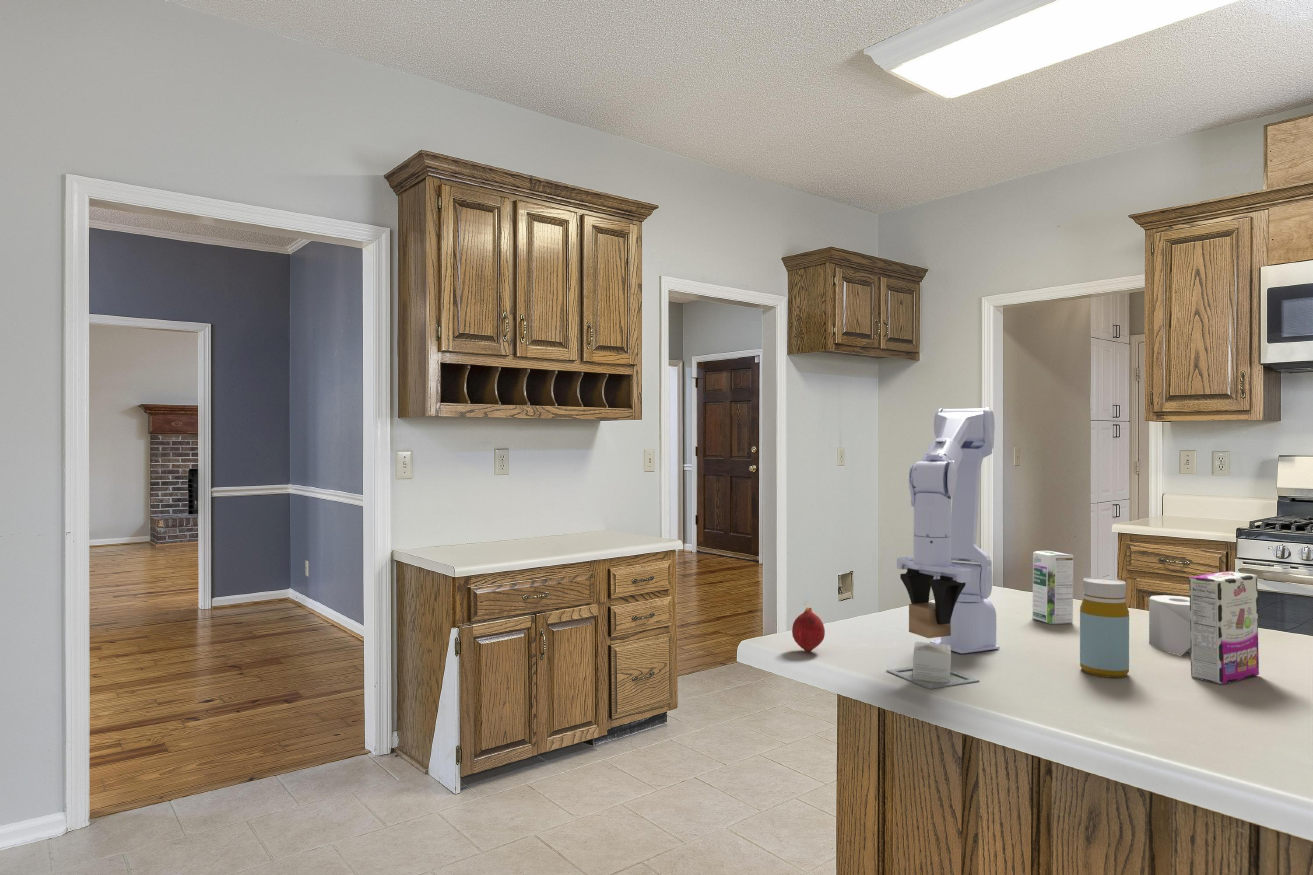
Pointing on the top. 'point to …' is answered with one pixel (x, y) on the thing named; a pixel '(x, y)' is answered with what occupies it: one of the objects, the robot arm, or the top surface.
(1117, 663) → the bottle
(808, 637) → the onion
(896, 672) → the gray square frame
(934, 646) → the small box
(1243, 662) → the candy bar box
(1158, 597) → the toilet tissue
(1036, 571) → the syrup box
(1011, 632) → the top surface
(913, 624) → the walnut cube
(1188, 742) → the top surface
